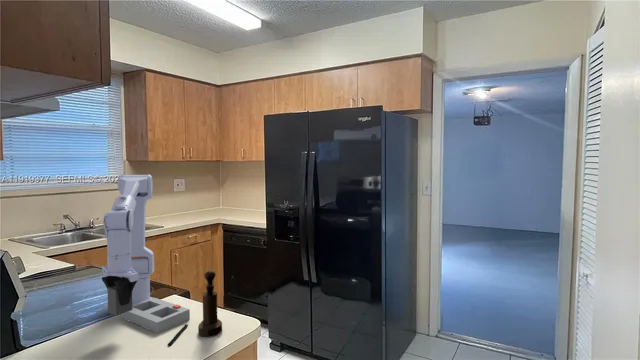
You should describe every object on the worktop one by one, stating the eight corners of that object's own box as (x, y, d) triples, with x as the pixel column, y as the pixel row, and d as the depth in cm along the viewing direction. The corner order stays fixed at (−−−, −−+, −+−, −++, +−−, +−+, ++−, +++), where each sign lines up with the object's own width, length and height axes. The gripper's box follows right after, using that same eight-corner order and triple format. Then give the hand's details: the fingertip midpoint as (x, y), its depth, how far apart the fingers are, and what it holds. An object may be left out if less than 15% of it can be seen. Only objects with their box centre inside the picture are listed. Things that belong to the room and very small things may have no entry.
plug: (107, 312, 98) (107, 287, 97) (124, 306, 102) (123, 282, 101) (116, 315, 96) (115, 290, 95) (132, 310, 99) (132, 285, 99)
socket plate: (121, 318, 110) (121, 307, 110) (153, 306, 119) (153, 295, 119) (157, 332, 101) (157, 320, 101) (189, 318, 110) (189, 307, 110)
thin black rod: (185, 326, 106) (185, 322, 106) (188, 326, 106) (188, 322, 106) (167, 347, 94) (167, 343, 94) (171, 347, 94) (170, 343, 94)
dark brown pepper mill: (197, 328, 104) (197, 267, 103) (220, 325, 106) (220, 265, 105) (199, 339, 97) (198, 274, 97) (223, 334, 100) (223, 271, 99)
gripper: (90, 253, 98) (91, 301, 99) (119, 261, 91) (120, 313, 91) (115, 248, 104) (116, 293, 105) (145, 255, 97) (146, 304, 97)
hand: (120, 302), depth 98 cm, fingers closed on plug, 4 cm apart
